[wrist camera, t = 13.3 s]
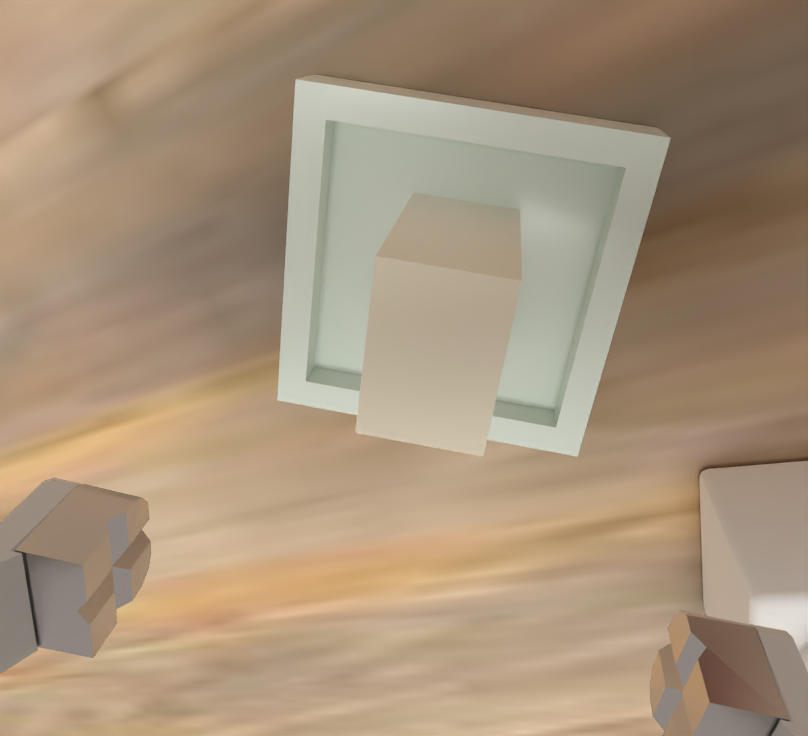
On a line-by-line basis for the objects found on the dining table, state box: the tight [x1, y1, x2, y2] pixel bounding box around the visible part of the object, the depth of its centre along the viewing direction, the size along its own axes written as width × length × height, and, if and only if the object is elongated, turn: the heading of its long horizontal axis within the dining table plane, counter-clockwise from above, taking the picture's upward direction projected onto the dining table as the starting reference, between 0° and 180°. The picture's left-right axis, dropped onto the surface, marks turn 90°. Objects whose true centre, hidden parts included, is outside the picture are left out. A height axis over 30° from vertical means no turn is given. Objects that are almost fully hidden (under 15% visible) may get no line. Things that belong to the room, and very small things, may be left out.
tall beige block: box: [355, 192, 522, 457], centre depth 21 cm, size 4×5×7 cm
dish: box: [277, 74, 671, 457], centre depth 24 cm, size 11×11×2 cm
